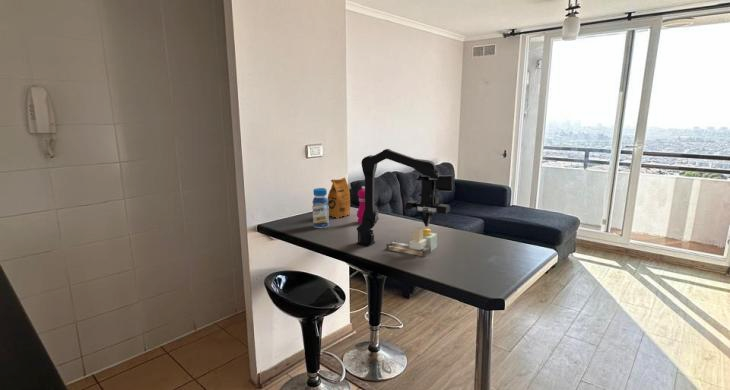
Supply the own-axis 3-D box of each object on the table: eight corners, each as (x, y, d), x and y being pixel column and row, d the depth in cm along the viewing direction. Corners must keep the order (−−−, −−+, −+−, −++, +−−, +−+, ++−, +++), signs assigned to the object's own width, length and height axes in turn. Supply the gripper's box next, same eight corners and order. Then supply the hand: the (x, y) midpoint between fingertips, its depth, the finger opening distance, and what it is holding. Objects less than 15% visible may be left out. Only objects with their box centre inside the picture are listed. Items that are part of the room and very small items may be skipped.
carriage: (409, 247, 161) (409, 229, 160) (415, 243, 166) (415, 226, 165) (420, 249, 159) (421, 231, 157) (426, 245, 164) (426, 228, 162)
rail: (386, 249, 168) (386, 243, 167) (393, 245, 173) (393, 240, 172) (425, 256, 158) (425, 250, 158) (430, 252, 163) (430, 246, 163)
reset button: (421, 241, 168) (421, 229, 167) (424, 239, 171) (424, 228, 170) (428, 242, 166) (428, 231, 165) (431, 240, 169) (431, 229, 168)
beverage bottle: (332, 225, 205) (331, 188, 201) (322, 229, 198) (321, 191, 194) (320, 223, 209) (318, 187, 206) (309, 227, 202) (308, 189, 199)
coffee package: (325, 216, 224) (324, 179, 220) (340, 212, 233) (340, 176, 229) (337, 219, 218) (336, 180, 213) (352, 215, 227) (352, 178, 222)
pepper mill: (368, 224, 207) (368, 187, 203) (355, 223, 208) (355, 187, 204) (371, 221, 214) (371, 185, 210) (358, 220, 215) (358, 184, 211)
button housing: (415, 249, 168) (415, 235, 166) (422, 244, 174) (422, 231, 173) (430, 251, 164) (430, 238, 163) (436, 246, 170) (437, 233, 169)
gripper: (455, 189, 166) (453, 224, 169) (415, 185, 176) (414, 219, 179) (445, 194, 157) (444, 231, 160) (404, 189, 166) (403, 224, 169)
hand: (426, 226), depth 167 cm, fingers closed
